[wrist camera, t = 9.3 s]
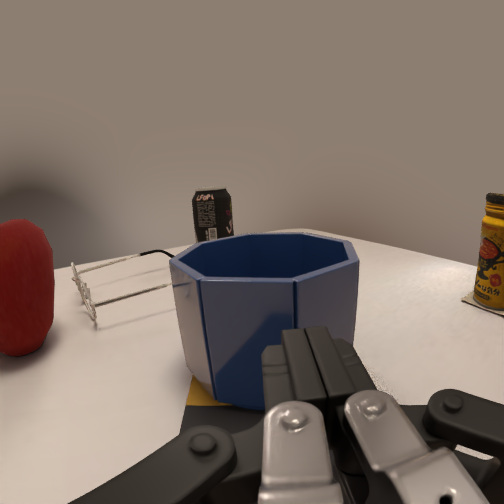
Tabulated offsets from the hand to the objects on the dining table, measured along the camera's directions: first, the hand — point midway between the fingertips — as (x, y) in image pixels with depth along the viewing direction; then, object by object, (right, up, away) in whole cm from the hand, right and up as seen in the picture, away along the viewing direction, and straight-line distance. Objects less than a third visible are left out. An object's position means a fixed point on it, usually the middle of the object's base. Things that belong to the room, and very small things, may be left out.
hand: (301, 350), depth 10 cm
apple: (-25, -6, +13) cm, 29 cm away
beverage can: (-7, +1, +36) cm, 37 cm away
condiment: (+27, -2, +16) cm, 31 cm away
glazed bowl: (0, -5, +11) cm, 12 cm away
